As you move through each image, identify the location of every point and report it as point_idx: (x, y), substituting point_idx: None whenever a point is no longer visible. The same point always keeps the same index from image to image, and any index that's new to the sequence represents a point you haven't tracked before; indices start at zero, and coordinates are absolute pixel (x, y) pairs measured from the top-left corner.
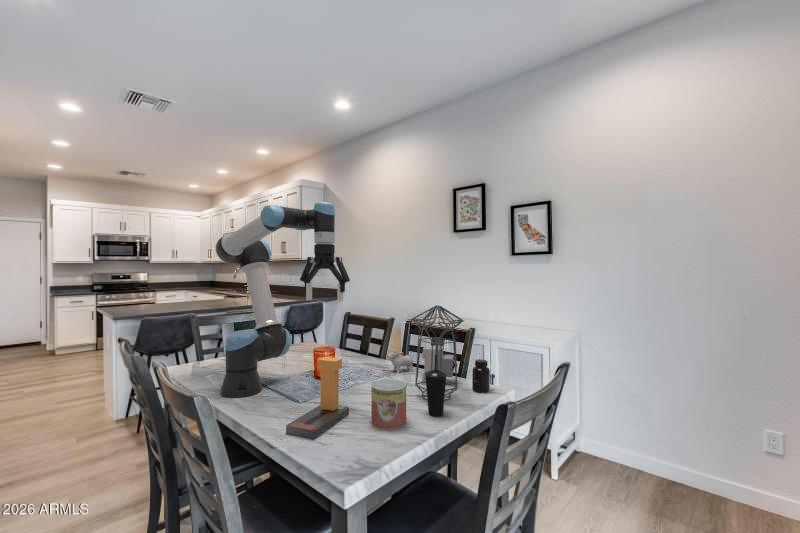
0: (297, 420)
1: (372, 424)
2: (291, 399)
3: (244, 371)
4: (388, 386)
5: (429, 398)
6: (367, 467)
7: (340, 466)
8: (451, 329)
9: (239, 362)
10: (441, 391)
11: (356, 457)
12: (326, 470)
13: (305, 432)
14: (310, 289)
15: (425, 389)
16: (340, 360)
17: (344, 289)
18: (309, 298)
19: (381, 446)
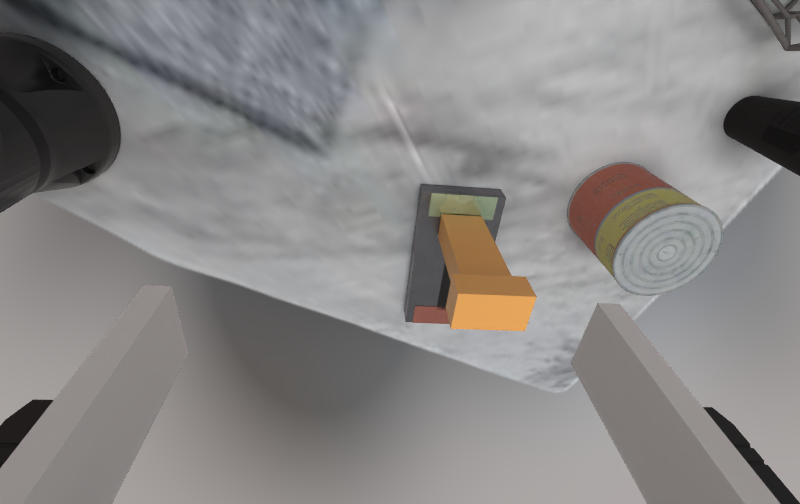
0: (415, 298)
1: (573, 230)
2: (275, 133)
3: (42, 180)
4: (665, 264)
5: (762, 154)
6: None
7: (543, 362)
8: None
9: (3, 209)
10: None
11: (562, 338)
12: (526, 373)
13: None
14: (102, 435)
15: (772, 29)
16: (532, 303)
17: (741, 450)
18: (173, 344)
19: (600, 300)
